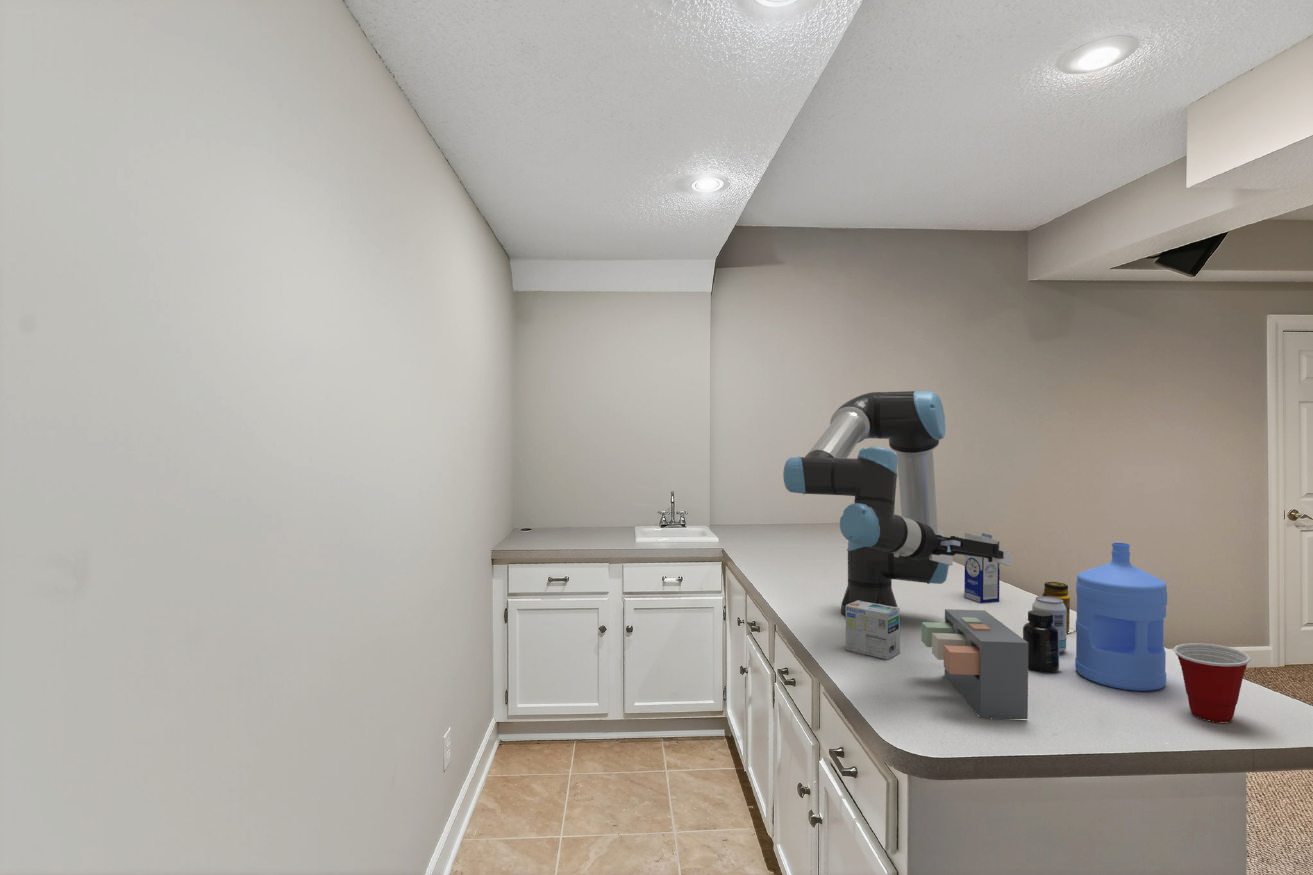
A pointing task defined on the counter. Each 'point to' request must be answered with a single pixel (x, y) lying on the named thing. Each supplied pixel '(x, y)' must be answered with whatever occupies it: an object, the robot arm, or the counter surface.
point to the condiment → (1059, 596)
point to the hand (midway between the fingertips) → (978, 559)
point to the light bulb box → (873, 629)
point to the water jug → (1121, 625)
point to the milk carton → (981, 574)
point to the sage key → (934, 630)
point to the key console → (992, 666)
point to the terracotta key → (962, 659)
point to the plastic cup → (1212, 678)
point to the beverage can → (1054, 615)
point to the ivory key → (946, 642)
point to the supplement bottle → (1042, 642)
